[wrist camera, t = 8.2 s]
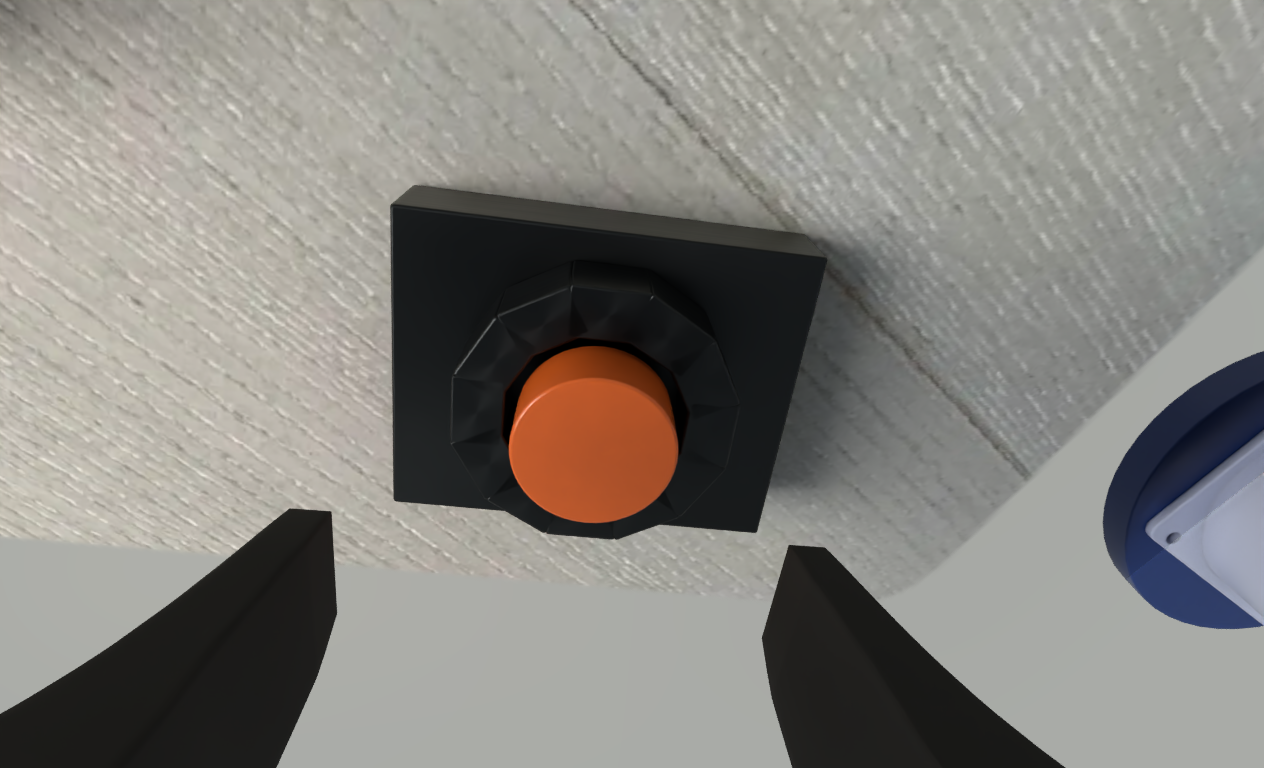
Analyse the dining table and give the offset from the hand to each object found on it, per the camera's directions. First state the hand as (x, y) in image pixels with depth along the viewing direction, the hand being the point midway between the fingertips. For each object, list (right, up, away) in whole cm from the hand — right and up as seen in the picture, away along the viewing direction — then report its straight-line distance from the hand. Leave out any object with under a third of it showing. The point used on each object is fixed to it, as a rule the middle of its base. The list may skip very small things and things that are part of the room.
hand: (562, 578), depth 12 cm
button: (0, +2, +5) cm, 6 cm away
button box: (0, +4, +9) cm, 9 cm away
